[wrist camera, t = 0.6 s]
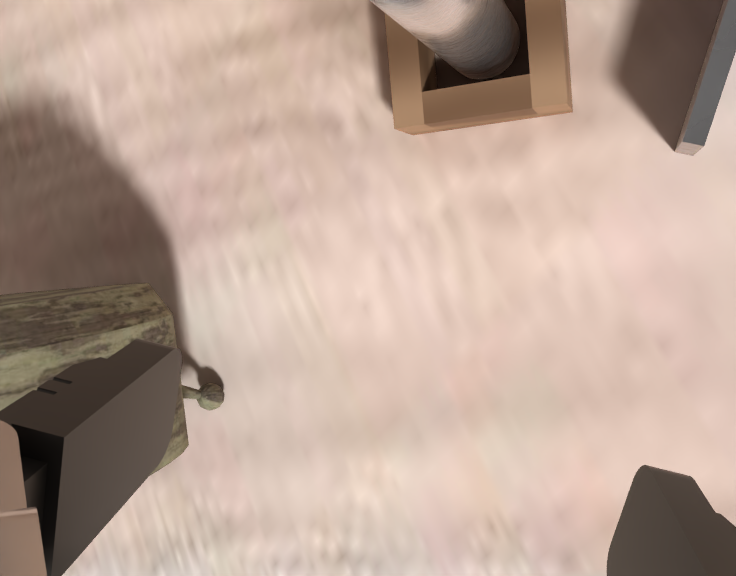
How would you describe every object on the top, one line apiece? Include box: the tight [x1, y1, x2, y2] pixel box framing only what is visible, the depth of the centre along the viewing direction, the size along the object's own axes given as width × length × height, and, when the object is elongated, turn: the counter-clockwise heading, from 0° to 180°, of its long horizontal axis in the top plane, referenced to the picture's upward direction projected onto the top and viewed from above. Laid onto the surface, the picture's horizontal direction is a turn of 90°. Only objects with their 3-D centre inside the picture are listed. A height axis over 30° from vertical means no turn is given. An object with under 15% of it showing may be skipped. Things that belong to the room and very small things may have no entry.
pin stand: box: [384, 0, 573, 135], centre depth 32 cm, size 8×8×3 cm
